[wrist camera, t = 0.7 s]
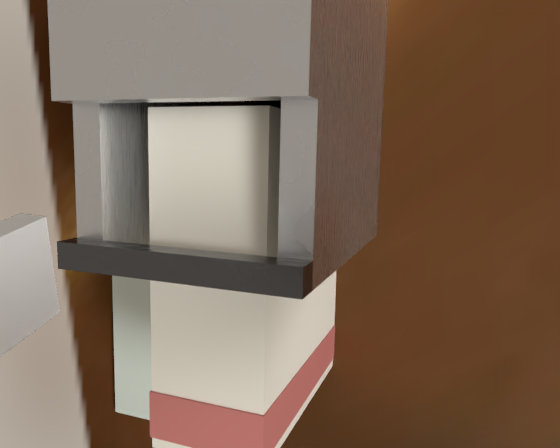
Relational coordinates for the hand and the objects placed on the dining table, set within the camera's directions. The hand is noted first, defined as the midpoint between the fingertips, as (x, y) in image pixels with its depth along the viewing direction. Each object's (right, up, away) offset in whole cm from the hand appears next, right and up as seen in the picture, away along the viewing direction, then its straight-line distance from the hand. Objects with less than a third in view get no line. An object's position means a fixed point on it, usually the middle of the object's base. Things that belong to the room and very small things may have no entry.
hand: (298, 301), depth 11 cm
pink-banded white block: (+1, 0, +18) cm, 18 cm away
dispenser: (+1, +8, +17) cm, 19 cm away
